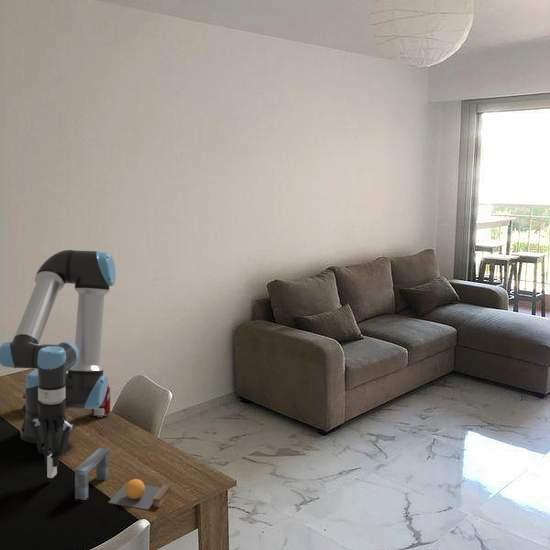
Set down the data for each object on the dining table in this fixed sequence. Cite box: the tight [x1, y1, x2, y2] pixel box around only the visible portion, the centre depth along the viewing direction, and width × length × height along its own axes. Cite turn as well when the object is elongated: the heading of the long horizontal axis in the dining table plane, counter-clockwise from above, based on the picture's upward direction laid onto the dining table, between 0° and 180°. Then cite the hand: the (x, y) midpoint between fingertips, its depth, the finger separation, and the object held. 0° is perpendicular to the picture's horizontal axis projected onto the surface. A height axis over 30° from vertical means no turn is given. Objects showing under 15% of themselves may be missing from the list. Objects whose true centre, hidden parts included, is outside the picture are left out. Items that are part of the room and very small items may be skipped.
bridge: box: [74, 447, 110, 501], centre depth 180 cm, size 3×14×9 cm, turn 168°
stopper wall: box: [152, 484, 171, 508], centre depth 177 cm, size 2×8×2 cm, turn 168°
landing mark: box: [107, 481, 162, 511], centre depth 178 cm, size 12×12×1 cm
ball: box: [125, 478, 145, 499], centre depth 177 cm, size 6×6×6 cm
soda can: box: [91, 383, 111, 418], centre depth 233 cm, size 7×7×12 cm
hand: (52, 475), depth 183 cm, fingers closed
